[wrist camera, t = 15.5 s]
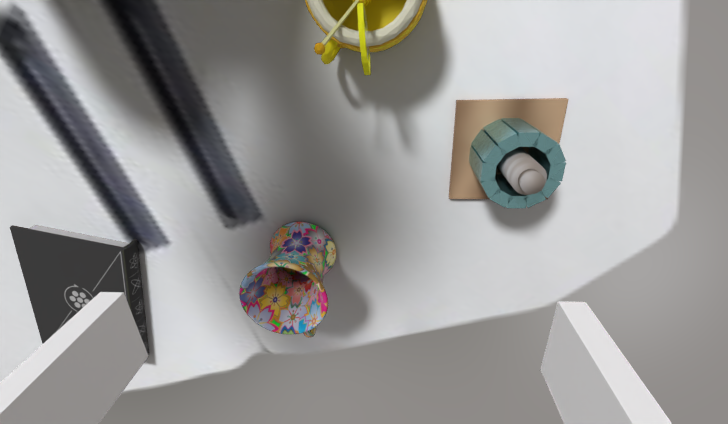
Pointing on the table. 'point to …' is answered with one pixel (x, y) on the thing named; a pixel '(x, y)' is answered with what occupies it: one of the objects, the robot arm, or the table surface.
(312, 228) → the mug
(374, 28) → the mug
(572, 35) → the table surface
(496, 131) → the teal slatted pot
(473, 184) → the peg on square base
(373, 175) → the table surface
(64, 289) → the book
